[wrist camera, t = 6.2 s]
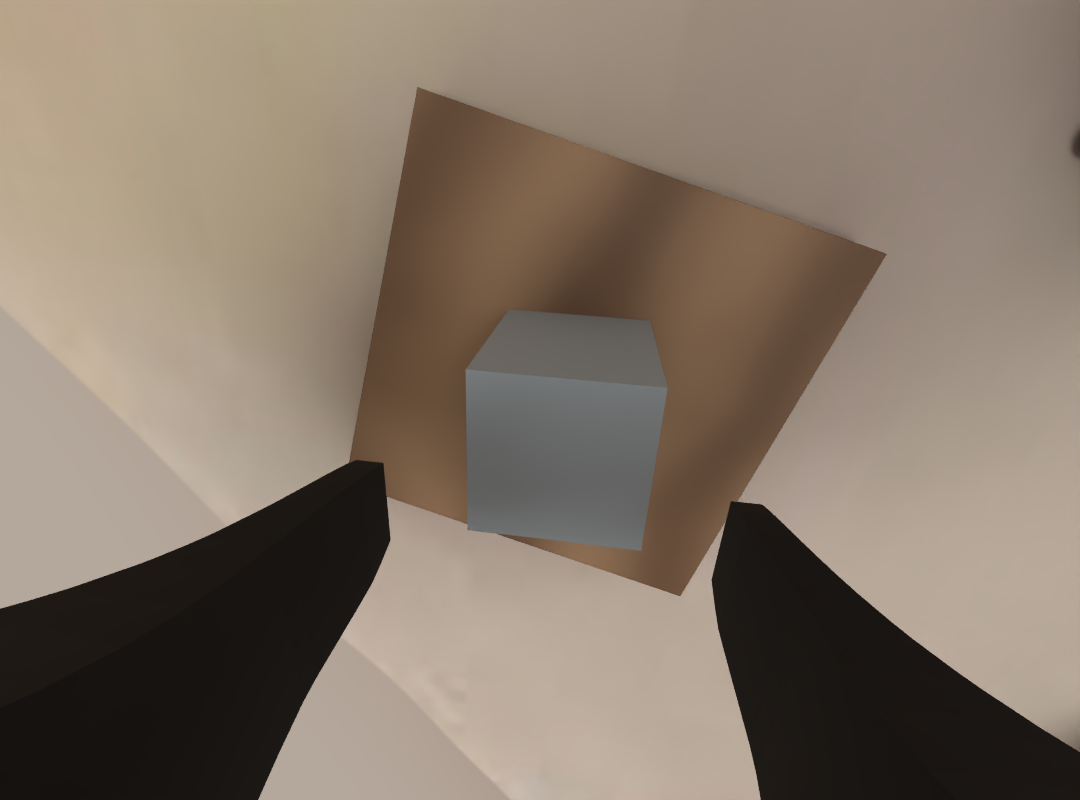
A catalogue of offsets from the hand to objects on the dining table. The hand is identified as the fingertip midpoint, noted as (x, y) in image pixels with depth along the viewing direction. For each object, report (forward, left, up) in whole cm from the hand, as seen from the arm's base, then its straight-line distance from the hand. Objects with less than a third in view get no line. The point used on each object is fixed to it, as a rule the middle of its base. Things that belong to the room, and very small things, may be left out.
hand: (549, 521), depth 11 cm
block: (0, 0, -7) cm, 7 cm away
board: (0, 0, -9) cm, 9 cm away
